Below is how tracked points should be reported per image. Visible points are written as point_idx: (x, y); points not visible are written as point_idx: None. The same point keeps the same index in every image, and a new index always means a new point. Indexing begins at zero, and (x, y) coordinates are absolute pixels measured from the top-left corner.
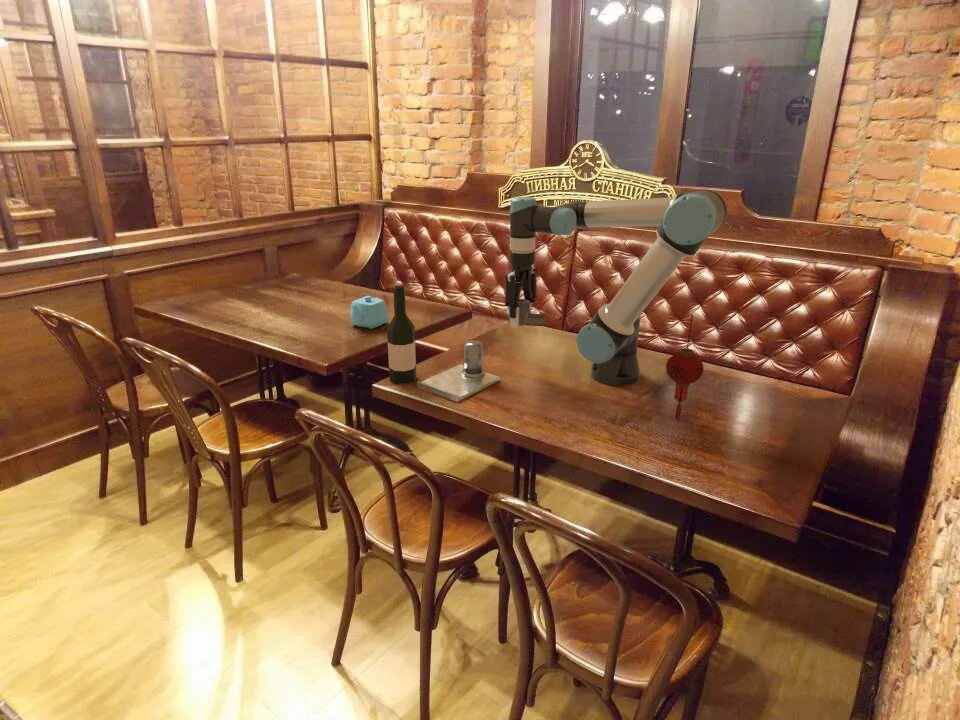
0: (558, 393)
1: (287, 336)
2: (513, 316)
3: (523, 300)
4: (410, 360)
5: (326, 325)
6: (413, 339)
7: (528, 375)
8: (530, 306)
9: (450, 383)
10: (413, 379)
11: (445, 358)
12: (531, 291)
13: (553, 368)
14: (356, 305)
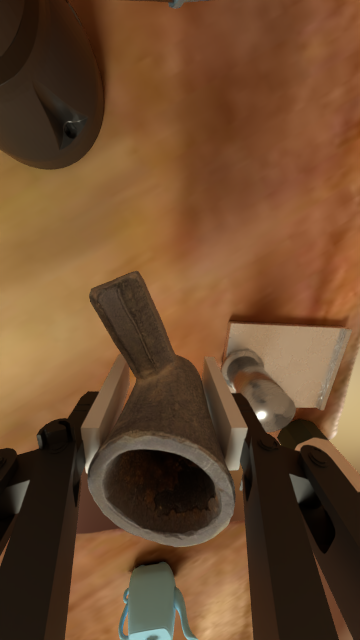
0: (222, 182)
1: (247, 590)
2: (247, 401)
3: (107, 480)
4: (332, 454)
5: (191, 592)
6: None
7: (175, 289)
8: (101, 409)
9: (298, 371)
10: (301, 421)
11: None
12: (12, 560)
13: (107, 264)
14: (172, 633)
